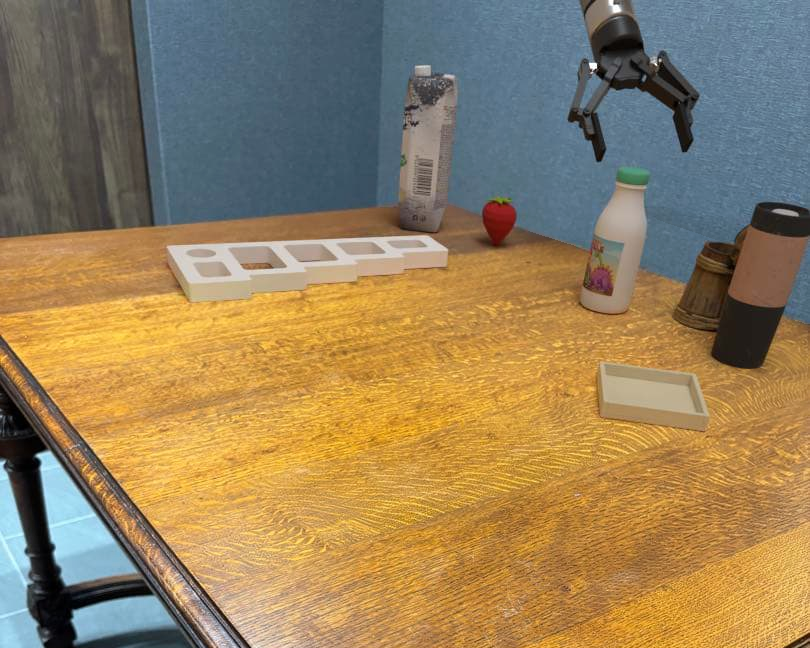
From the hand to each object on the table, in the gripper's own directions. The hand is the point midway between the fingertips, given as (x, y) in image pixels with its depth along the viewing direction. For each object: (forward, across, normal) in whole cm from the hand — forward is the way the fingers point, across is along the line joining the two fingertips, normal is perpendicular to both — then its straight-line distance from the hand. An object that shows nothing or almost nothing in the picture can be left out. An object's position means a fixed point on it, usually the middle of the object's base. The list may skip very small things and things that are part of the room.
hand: (645, 151), depth 123 cm
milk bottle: (+19, -8, +10) cm, 23 cm away
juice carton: (-16, -29, +36) cm, 49 cm away
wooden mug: (+27, +6, +7) cm, 28 cm away
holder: (+6, -51, +13) cm, 53 cm away
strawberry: (-6, -17, +30) cm, 35 cm away
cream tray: (+44, -14, -12) cm, 48 cm away
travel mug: (+36, +5, -1) cm, 36 cm away
